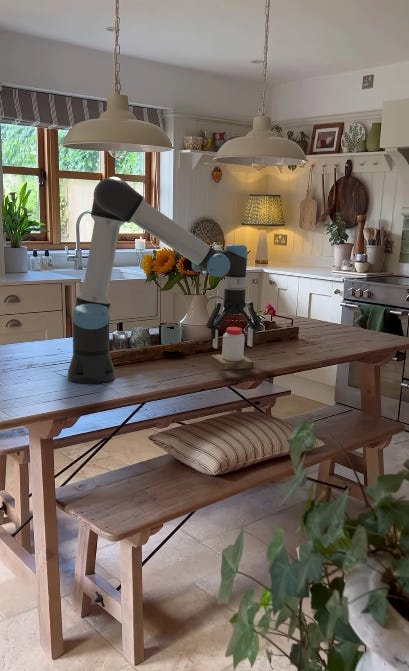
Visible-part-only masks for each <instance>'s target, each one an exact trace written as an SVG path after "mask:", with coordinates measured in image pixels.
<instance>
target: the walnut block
mask: <svg viewBox="0 0 409 671" xmlns="http://www.w3.org/2000/svg"><path fill="white" fill-rule="evenodd" d="M210 362H211V364H213V365H215V366H217V367H218V368H219V369H220V370H222V371H223V370H237V369H253V368H254V366H255V365H254V364H255V362H254V360H252V359H250V358H249V357H247V356H245V355H244V354H243V359H242V360H240V361H229V360H225V359H223V358H222V354H211V355H210Z"/></svg>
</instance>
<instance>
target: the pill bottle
mask: <svg viewBox="0 0 409 671" xmlns="http://www.w3.org/2000/svg"><path fill="white" fill-rule="evenodd" d="M244 349H245V335H244V333H243V329H242V327H238V326H229V327H227V328H226V332H225V333H223V335H222V352H221V355H222V358H223V359H225V360H229V361H240V360H242V359H243V355H244V354H245V353H244V351H245V350H244Z"/></svg>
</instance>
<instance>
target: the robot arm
mask: <svg viewBox="0 0 409 671" xmlns="http://www.w3.org/2000/svg"><path fill="white" fill-rule="evenodd" d="M90 217H91V218H92V220H93V221H94V222H93V228H92V232H91V233H92V235H91V239H90V247H89V251H88V257H87V262H86V269H85V275H84V280H83V285H82V291H81V292H80V293H79V294H77V295H76V299H75V306H74V308H73V309H72V315H71V320H72V357H71V361H70V364H69V367H68V368H67V369H68V370H67V379H68V380H69V381H70V382H73V383H78V384H87V385H88V384H100V383H101V384H103V383H108V382H110V381H112V380H114V379H115V378H116V375H115V374H116V370H115V367H114V364H113V361H112V358H111V355H110V319H111V315H110V309H111V304H112V301H111V299H110V298H109V296H108V295H109V291H110V290H109V289H110V286H111V280H112V273H113V269H114V268H113V267H114V264H115V256H116V250H117V245H118V240H119V235H120V230H121V227H122V226H123V225H124V224H126V223H127V224H130V223H133V224H134V225H136V226H137V227H139V228H141V229H142V230H143V231H145V232H146V233H148V234H149V235H151V236H153V238H155V239H157V240H159V241H160V242H162V243H163V244H165V245H166V246H168V247H169V248H171V249H172V250H174V251H175V252H177V253H178V254H180V256H183V257H184V258H186V259H188V260H189V261H190V262H191V270H193V271H194V272H200V273H202V272H206V273H208V274H209V275H210V276H212V277H215V278H222V277H224V287H225V288H224V291H223V292H224V293H223V299H224V300H223V302H220V301H215V304H214V308H213V310H212V313H211V314H210V317H209V318H208V320H207V323H206V325H205V327H206V328H207V329H208V330H209V329H210V338H211V339H212V347H213V348H214V349H218V344H219V343H218V341H219V339H218V338H219V330H218V328H219V327H220V325H221V324H222V322H223V321H224V320H225V319H226V318H227V317H228V316H229V315H232V316H233V315H236V316H237V315H241V316H242V318H243V319H244V321H245V322H246V323H247V324H248V326H249V327H248V328H247V345H246V346H249V347H253V338H255V336H256V329H257V328H259V327H261V322H260V320H259V318H258V316H257V313H256V310H255V308H254V302H253V301H250V300H248V301H246V289H245V288H246V287H247V267H248V266H247V265H248V264H247V263H248V247H247V246H246V245H244V244H238V243H237V244H234V243H233V244H231V243H230V244H226V246H225V249H222V250H221V249H215V248H213V247H212V246H211V245H209V244H208V243H206V241H204V240H202V239H201V238H199V237H198V236H196V235H194V234H193V233H192V232H191V231H189V230H187V229H186V228H184V227H183V226H181V225H180V224H178V223H177V222H176V221H175V220H173V219H171V218H170V217H168V215H165V214H164V213H163V212H161V211H160V210H158V209H156V208H155V207H154V206H152V205H151V204H150V203H148V202H146V198H145V196H143V195H141V194H140V192H139V191H137V190H135V189H134V188H133V187H132V186H131V185H130V184H129V183H127V182H126V180H124V179H123V178H120V177H117V176H109V177H105V178H104V179H102V180H101V181H99V182H97V185H96V186H95V188H94V191H93V200H92V205H91V213H90ZM245 307H246V308H247V309H248V312H249V314H250V316H249V315H248V314H247V312H246V311H245V310H244V309H245ZM222 308H224V309H223V310H222V311H221V309H222ZM220 311H221V314H219V313H220ZM218 315H219V316H218ZM250 317H251V318H250Z"/></svg>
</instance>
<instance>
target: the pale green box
mask: <svg viewBox="0 0 409 671" xmlns="http://www.w3.org/2000/svg"><path fill="white" fill-rule="evenodd" d="M171 326H173V327H174V329H170V328H167V327H171ZM160 329H161V334H160V338H161V340H160V341H161V345H162V344H170V343H178V342H181V343H182V326H181V325H178V324H164V325H161V328H160Z"/></svg>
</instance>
